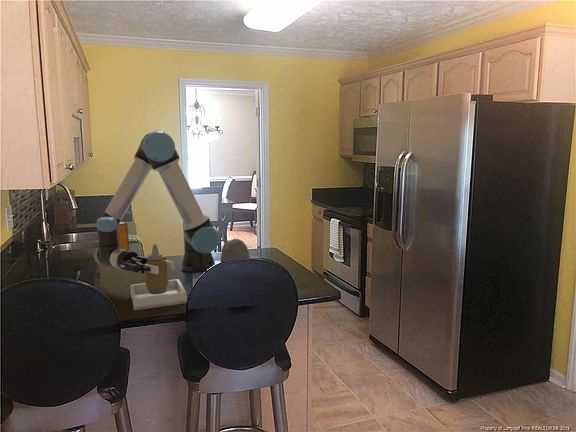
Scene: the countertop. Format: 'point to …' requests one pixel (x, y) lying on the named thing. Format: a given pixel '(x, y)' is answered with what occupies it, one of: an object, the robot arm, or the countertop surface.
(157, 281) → the squeeze bottle
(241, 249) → the small grey backpack
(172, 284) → the box
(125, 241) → the baking soda box
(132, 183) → the robot arm
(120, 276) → the countertop surface
